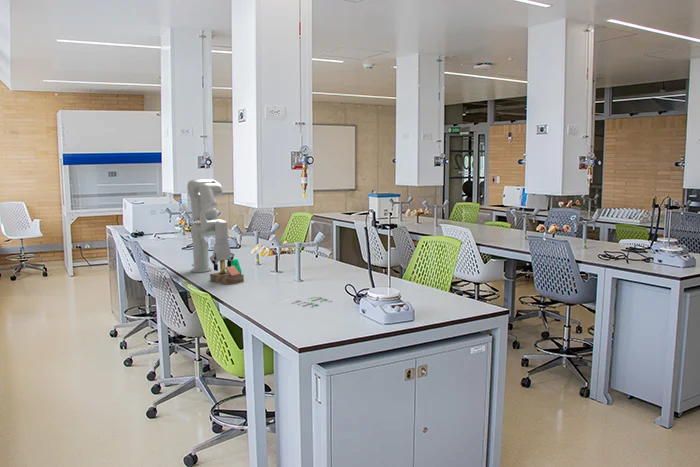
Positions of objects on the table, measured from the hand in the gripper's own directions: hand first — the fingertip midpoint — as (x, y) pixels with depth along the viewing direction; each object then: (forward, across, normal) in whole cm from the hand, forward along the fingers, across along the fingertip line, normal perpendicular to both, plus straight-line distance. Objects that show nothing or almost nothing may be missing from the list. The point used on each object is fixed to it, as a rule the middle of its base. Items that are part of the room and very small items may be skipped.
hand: (222, 269), depth 345 cm
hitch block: (+6, 0, +4) cm, 8 cm away
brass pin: (+6, 0, 0) cm, 6 cm away
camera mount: (+7, -14, -10) cm, 18 cm away
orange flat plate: (0, 0, +10) cm, 10 cm away
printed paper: (+7, +2, +81) cm, 81 cm away
